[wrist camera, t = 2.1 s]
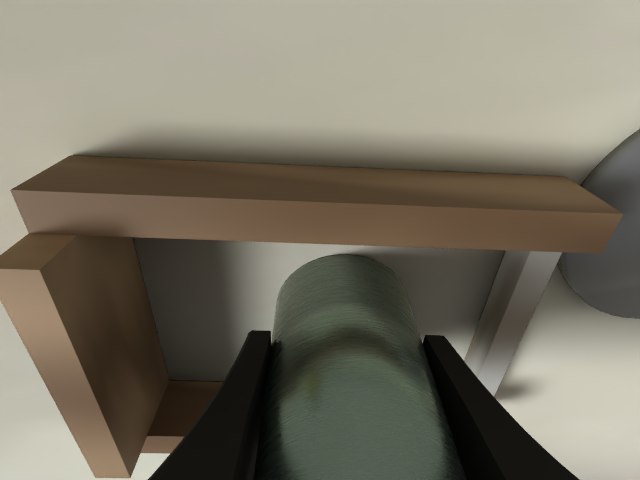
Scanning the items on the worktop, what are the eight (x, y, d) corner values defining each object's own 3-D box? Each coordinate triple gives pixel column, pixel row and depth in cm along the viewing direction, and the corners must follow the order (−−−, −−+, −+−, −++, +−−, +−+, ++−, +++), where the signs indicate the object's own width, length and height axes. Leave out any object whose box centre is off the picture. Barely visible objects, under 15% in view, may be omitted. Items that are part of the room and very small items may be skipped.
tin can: (396, 355, 16) (460, 621, 9) (276, 352, 15) (245, 622, 9) (419, 255, 13) (537, 527, 6) (274, 250, 13) (226, 524, 6)
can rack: (469, 403, 17) (506, 498, 14) (147, 397, 17) (104, 494, 13) (565, 176, 11) (673, 246, 8) (70, 155, 11) (-43, 220, 7)
